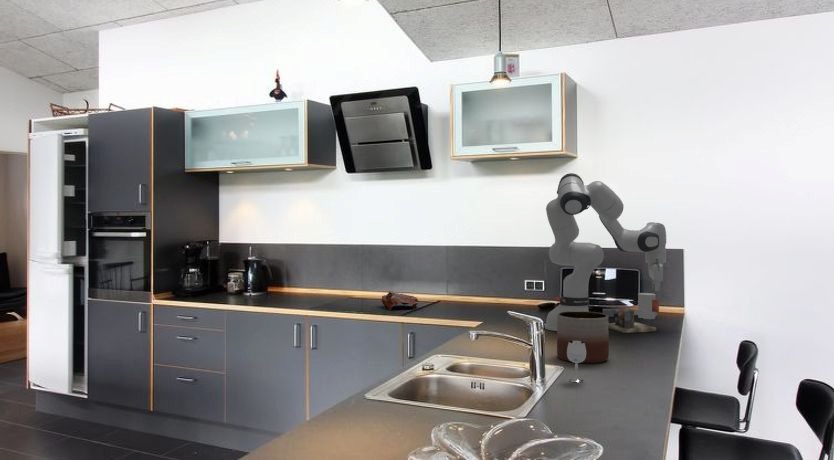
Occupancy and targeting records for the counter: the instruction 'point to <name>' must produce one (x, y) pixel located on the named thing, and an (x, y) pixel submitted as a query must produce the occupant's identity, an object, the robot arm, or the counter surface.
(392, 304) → the meat
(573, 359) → the wineglass
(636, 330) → the press base
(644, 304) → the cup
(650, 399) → the counter surface
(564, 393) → the counter surface
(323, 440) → the counter surface
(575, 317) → the planter
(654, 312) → the lever
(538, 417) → the counter surface
